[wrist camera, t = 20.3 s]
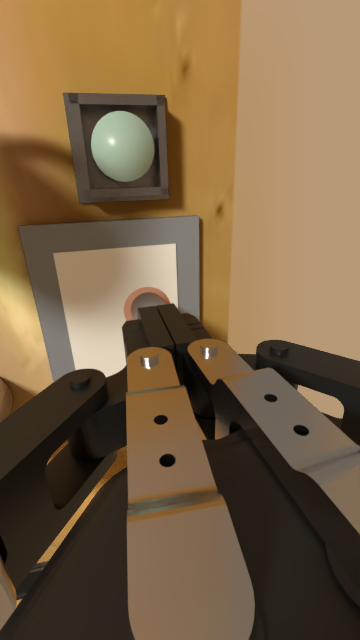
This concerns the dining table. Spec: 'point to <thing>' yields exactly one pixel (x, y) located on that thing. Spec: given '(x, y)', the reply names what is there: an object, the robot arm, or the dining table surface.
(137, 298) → the grey cylindrical piece
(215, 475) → the robot arm
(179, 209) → the dining table surface
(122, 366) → the drawing board
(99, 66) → the dining table surface
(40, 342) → the dining table surface
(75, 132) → the button housing
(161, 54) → the dining table surface
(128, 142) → the button
